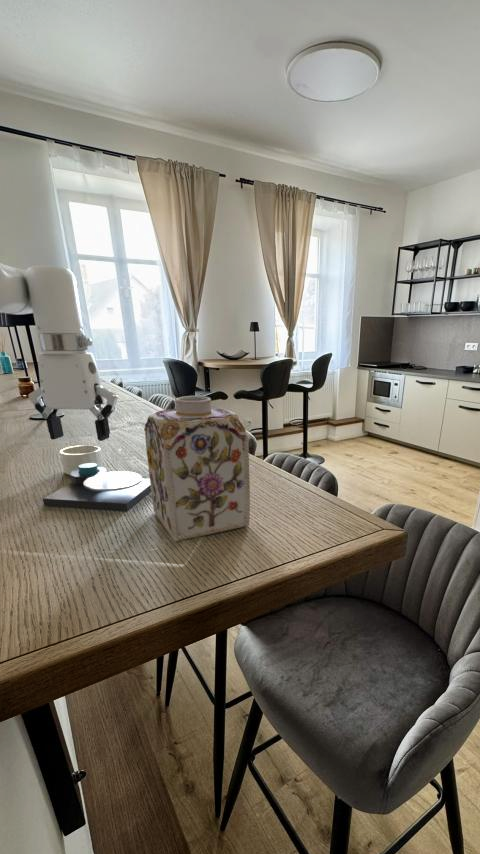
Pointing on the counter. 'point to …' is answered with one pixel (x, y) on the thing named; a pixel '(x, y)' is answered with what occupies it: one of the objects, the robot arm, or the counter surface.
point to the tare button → (88, 469)
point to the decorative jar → (198, 468)
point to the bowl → (80, 457)
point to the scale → (96, 495)
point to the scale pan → (112, 481)
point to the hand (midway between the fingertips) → (80, 438)
